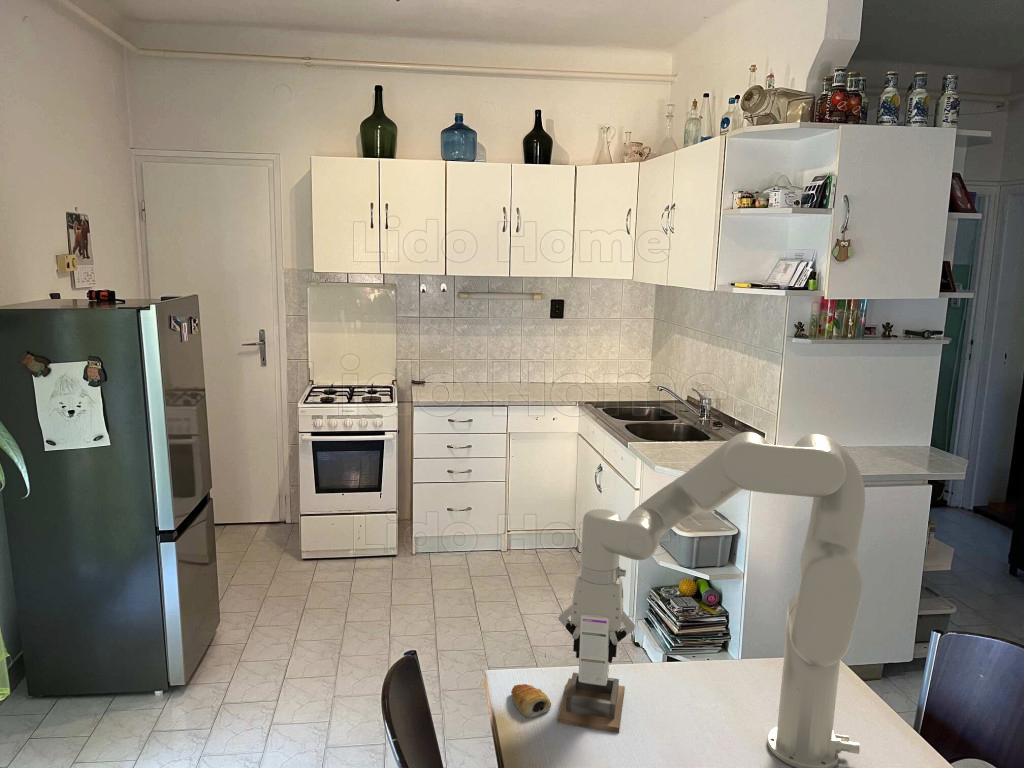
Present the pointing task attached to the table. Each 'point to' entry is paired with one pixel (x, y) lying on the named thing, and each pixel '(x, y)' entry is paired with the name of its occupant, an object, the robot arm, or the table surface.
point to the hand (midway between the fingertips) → (594, 656)
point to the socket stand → (592, 704)
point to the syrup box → (594, 650)
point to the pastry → (530, 700)
